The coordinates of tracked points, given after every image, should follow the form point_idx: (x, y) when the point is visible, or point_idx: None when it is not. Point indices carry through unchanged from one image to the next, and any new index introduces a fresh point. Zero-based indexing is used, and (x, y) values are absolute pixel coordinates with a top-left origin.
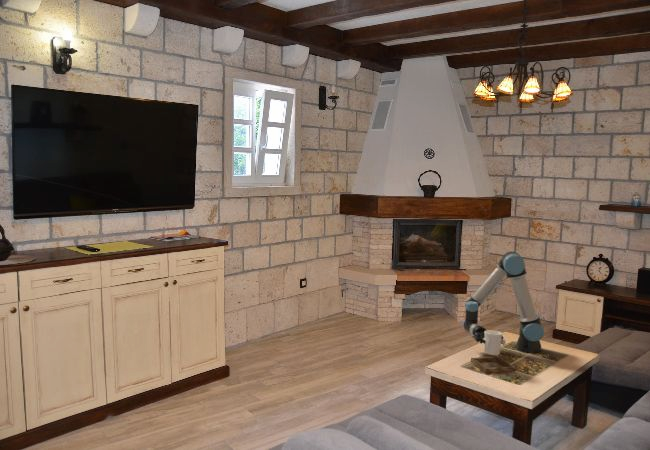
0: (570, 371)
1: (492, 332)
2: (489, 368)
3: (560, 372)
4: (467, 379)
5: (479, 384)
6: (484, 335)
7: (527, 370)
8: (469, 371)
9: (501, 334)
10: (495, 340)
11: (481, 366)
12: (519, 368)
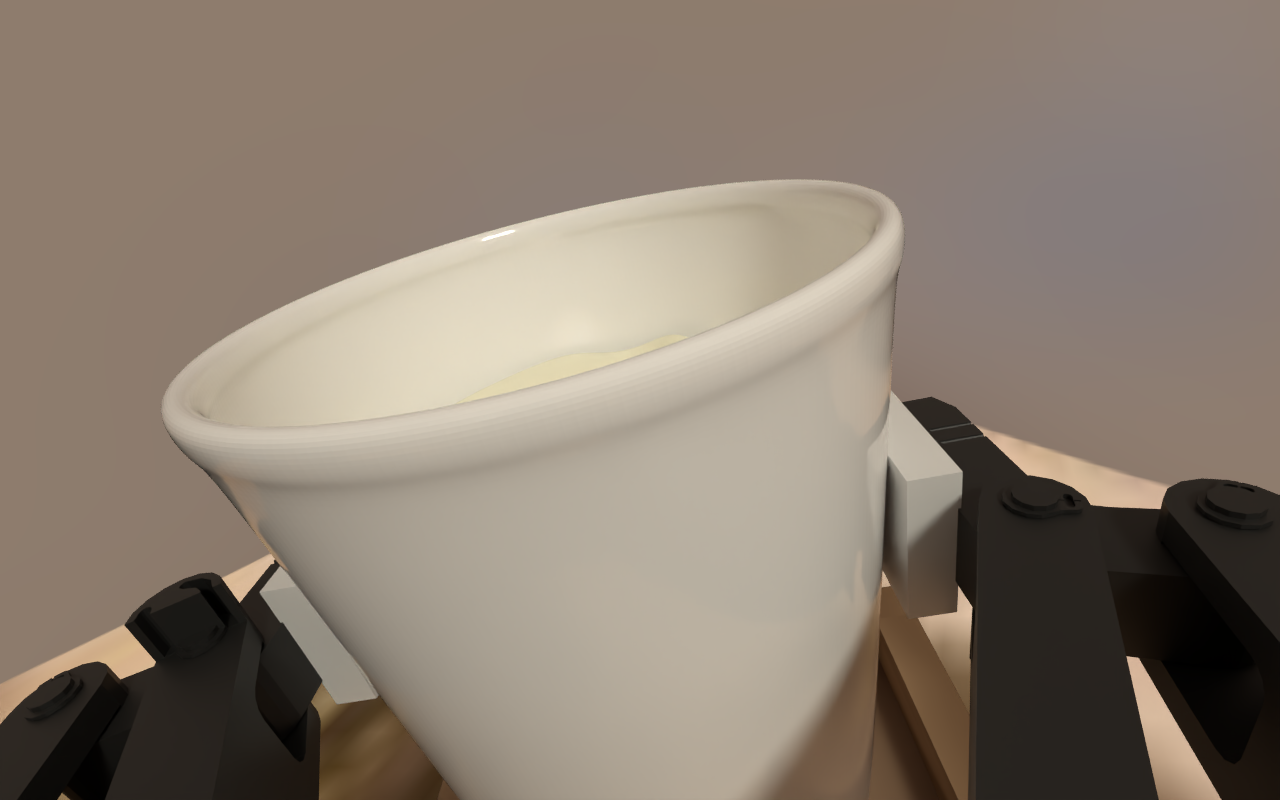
0: (5, 684)
1: (331, 539)
2: None
3: (112, 662)
4: (1125, 492)
5: (981, 430)
6: (890, 382)
7: (333, 720)
8: (1164, 704)
9: (433, 251)
10: (643, 336)
11: (955, 696)
12: (356, 795)
